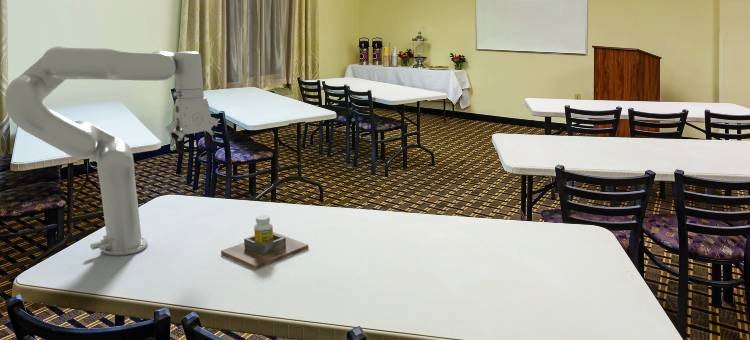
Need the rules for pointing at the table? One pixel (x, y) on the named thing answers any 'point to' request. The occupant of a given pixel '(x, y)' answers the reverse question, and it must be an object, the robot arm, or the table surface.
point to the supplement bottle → (263, 230)
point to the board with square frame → (264, 251)
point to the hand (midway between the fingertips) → (194, 150)
